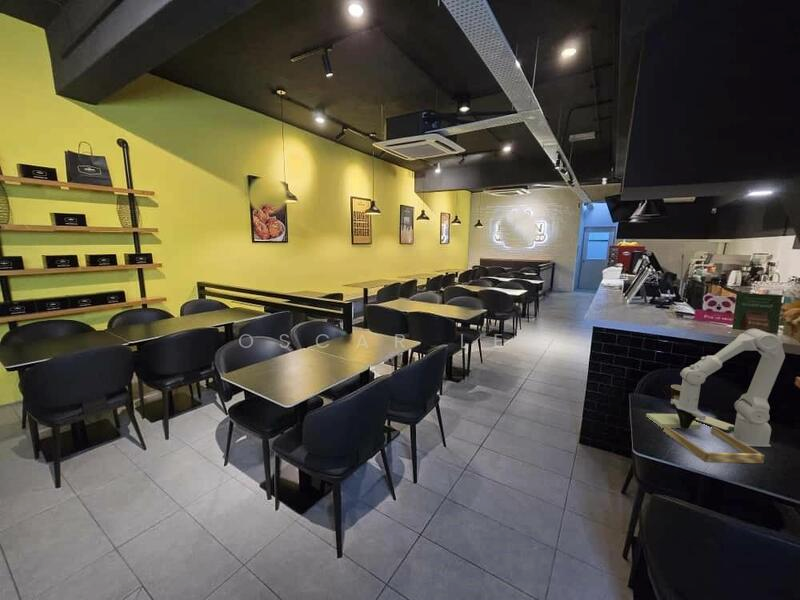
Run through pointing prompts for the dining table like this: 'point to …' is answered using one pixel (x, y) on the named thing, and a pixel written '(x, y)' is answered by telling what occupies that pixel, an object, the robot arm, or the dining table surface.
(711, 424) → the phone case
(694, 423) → the cover plate
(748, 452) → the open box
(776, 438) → the dining table surface
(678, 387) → the coffee mug
